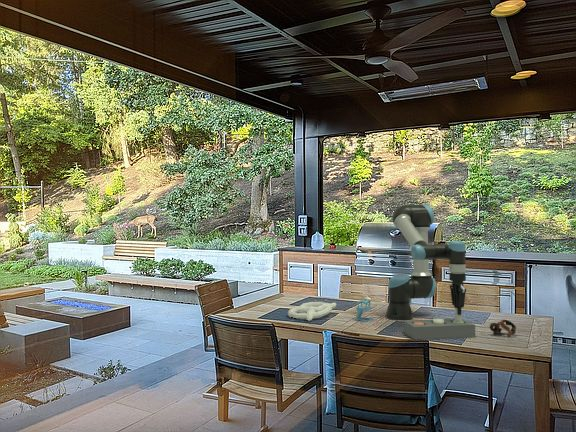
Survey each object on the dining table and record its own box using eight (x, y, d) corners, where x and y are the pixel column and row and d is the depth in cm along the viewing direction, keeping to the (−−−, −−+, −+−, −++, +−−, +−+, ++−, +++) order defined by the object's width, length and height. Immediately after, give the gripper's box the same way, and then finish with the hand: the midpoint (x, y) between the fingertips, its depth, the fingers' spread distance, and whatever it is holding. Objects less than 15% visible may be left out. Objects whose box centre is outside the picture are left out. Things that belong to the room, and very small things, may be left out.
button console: (403, 332, 232) (403, 320, 232) (461, 330, 235) (461, 318, 235) (414, 339, 218) (414, 327, 218) (475, 337, 221) (475, 324, 221)
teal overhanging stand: (359, 318, 267) (359, 297, 267) (373, 319, 263) (373, 298, 263) (354, 320, 260) (354, 299, 260) (368, 322, 256) (368, 300, 256)
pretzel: (314, 325, 256) (312, 314, 256) (281, 321, 272) (280, 310, 271) (341, 310, 278) (340, 300, 277) (310, 307, 293) (309, 297, 293)
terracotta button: (411, 328, 228) (411, 321, 228) (421, 327, 228) (421, 321, 228) (415, 330, 223) (415, 324, 223) (425, 330, 223) (425, 323, 223)
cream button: (431, 324, 229) (431, 318, 229) (441, 324, 229) (441, 318, 229) (435, 327, 224) (435, 320, 224) (445, 326, 224) (445, 320, 224)
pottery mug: (504, 332, 232) (512, 319, 228) (513, 345, 223) (522, 332, 220) (482, 327, 229) (490, 314, 226) (491, 340, 221) (499, 327, 218)
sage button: (451, 326, 230) (451, 320, 230) (460, 326, 230) (460, 320, 230) (455, 328, 225) (455, 322, 225) (465, 328, 225) (465, 322, 225)
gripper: (444, 271, 234) (445, 318, 234) (456, 274, 221) (457, 324, 221) (458, 271, 235) (459, 317, 234) (471, 274, 222) (472, 323, 221)
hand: (458, 320), depth 228 cm, fingers closed
